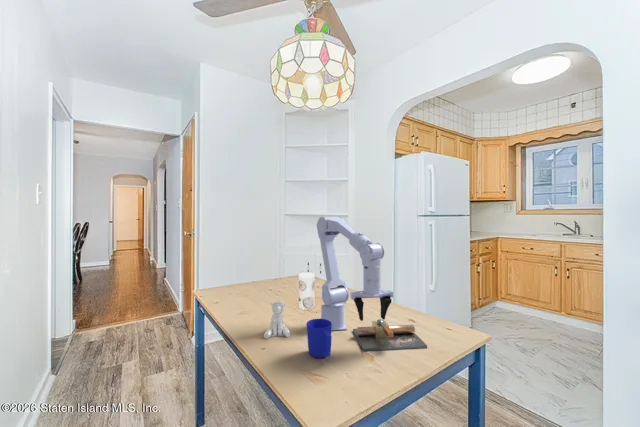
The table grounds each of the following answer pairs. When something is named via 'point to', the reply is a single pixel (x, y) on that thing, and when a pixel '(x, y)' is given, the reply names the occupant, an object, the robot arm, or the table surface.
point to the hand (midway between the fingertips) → (372, 319)
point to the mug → (319, 337)
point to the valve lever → (385, 328)
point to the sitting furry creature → (277, 322)
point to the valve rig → (378, 340)
